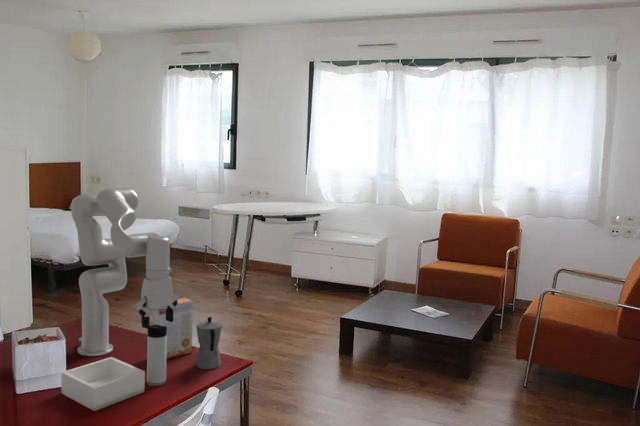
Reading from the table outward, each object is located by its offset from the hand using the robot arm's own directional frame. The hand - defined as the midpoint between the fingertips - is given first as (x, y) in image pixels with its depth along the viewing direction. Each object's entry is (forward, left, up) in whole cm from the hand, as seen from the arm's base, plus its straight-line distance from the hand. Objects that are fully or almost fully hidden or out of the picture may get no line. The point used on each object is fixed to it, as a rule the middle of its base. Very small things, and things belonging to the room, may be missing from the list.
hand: (157, 324), depth 192 cm
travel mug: (0, 0, -21) cm, 21 cm away
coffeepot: (+2, +22, -21) cm, 30 cm away
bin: (-6, -16, -20) cm, 27 cm away
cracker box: (-16, +20, -21) cm, 33 cm away
